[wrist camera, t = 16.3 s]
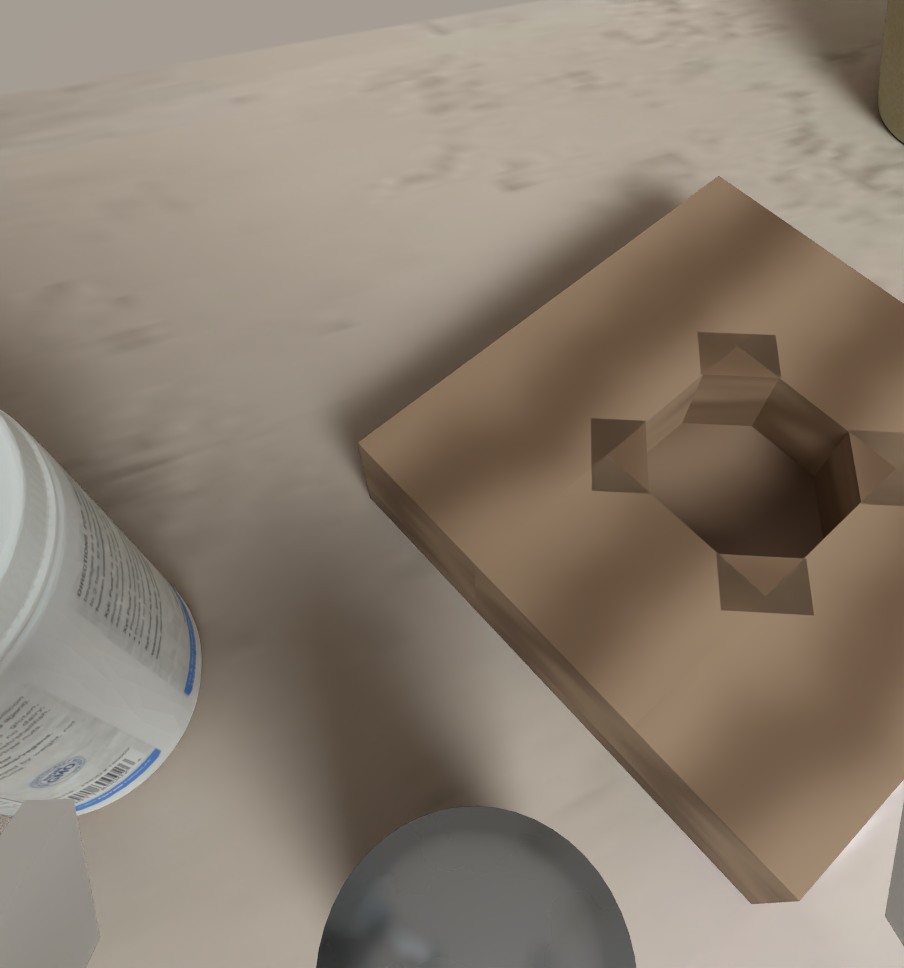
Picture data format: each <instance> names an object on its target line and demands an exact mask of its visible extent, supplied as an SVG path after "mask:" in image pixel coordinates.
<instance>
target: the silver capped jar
mask: <svg viewBox="0 0 904 968" xmlns="http://www.w3.org/2000/svg"><path fill="white" fill-rule="evenodd" d="M316 968H636V963H635V956H634V952H633V948H632V944H631V940H630V935H629V932H628V929H627V927H626V924H625V921H624V918H623V916H622V913H621V911H620V909H619V907H618V905H617V903H616V901H615V899H614V897H613V895H612V893H611V891H610V889H609V888H608V886H607V885H606V883H605V882H604V880H603V878H602V877H601V875H600V874H599V872H598V871H597V870H596V869H595V868H594V866H593V865H592V864H591V863H590V862H589V860H588V859H587V858H586V857H585V856H584V855H583V854H582V853H581V852H580V851H579V850H578V849H577V848H576V847H575V846H574V845H573V844H571V843H570V842H569V841H568V840H567V839H565V838H564V837H562V836H561V835H560V834H558V833H557V832H556V831H554V830H553V829H551V828H549V827H547V826H546V825H544V824H542V823H540V822H538V821H536V820H535V819H532V818H529V817H527V816H524V815H521V814H519V813H516V812H512V811H508V810H504V809H499V808H493V807H481V806H469V807H456V808H450V809H445V810H440V811H436V812H433V813H430V814H427V815H425V816H422V817H419V818H417V819H415V820H413V821H411V822H409V823H407V824H405V825H403V826H401V827H400V828H398V829H397V830H395V831H394V832H392V833H391V834H389V835H388V836H387V837H385V838H384V839H383V840H382V841H381V842H379V843H378V844H377V845H376V846H375V847H374V848H373V849H372V850H370V851H369V853H368V854H367V855H366V856H365V857H364V858H363V859H362V860H361V862H360V863H359V864H358V865H357V866H356V867H355V869H354V870H353V872H352V873H351V875H350V876H349V878H348V879H347V881H346V882H345V883H344V885H343V887H342V889H341V891H340V893H339V894H338V896H337V898H336V900H335V902H334V904H333V906H332V909H331V911H330V914H329V917H328V919H327V922H326V925H325V927H324V931H323V935H322V939H321V943H320V947H319V952H318V959H317V966H316Z"/></svg>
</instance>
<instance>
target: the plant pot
mask: <svg viewBox="0 0 904 968" xmlns="http://www.w3.org/2000/svg"><path fill="white" fill-rule="evenodd" d="M878 108H879V112H880V115H881V118H882V120H883V121H884V123H885V125H886V126H887V128H888V129H889V130H890V132H891V133H892V134H893V135H894V136H895V137H897V138H898V139H899V140H900V141H901V142H903V143H904V0H889V1H888V8H887V14H886V22H885V30H884V38H883V46H882V55H881V65H880V78H879V93H878Z"/></svg>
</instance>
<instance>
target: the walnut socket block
mask: <svg viewBox="0 0 904 968" xmlns="http://www.w3.org/2000/svg"><path fill="white" fill-rule="evenodd" d="M358 446H359V450H360V455H361V459H362V464H363V468H364V472H365V477H366V481H367V486H368V490H369V494H370V498H371V499H372V500H373V501H374V502H375V503H376V504H377V505H378V506H379V507H380V508H381V509H382V511H383V512H384V513H385V514H386V515H387V516H388V517H389V518H390V519H391V520H392V521H393V522H394V523H395V524H396V525H397V527H398V528H399V529H400V530H401V531H402V532H403V533H404V534H405V535H406V536H407V537H408V538H409V539H410V540H411V541H412V543H413V544H414V545H415V546H416V547H417V548H418V549H419V550H420V551H421V552H422V553H423V554H424V555H425V556H426V557H427V558H428V560H429V561H430V562H431V563H432V564H433V565H434V566H435V567H436V568H437V569H438V570H439V571H440V572H441V573H442V574H443V576H444V577H445V578H446V579H447V580H448V581H449V582H450V583H451V584H452V585H453V586H454V587H455V588H456V589H457V590H458V592H459V593H460V594H461V595H462V596H463V597H464V598H465V599H466V600H467V601H468V602H469V603H470V604H471V605H472V606H473V608H474V609H475V610H476V611H477V612H478V613H479V614H480V615H481V616H482V617H483V618H484V619H485V620H486V621H487V622H488V623H489V625H490V626H491V627H492V628H493V629H494V630H495V631H496V632H497V633H498V634H499V635H500V636H501V637H502V638H503V639H504V641H505V642H506V643H507V644H508V645H509V646H510V647H511V648H512V649H513V650H514V651H515V652H516V653H517V654H518V655H519V657H520V658H521V659H522V660H523V661H524V662H525V663H526V664H527V665H528V666H529V667H530V668H531V669H532V670H533V671H534V673H535V674H536V675H537V676H538V677H539V678H540V679H541V680H542V681H543V682H544V683H545V684H546V685H547V686H548V687H549V688H550V690H551V691H552V692H553V693H554V694H555V695H556V696H557V697H558V698H559V699H560V700H561V701H562V702H563V703H564V704H565V706H566V707H567V708H568V709H569V710H570V711H571V712H572V713H573V714H574V715H575V716H576V717H577V718H578V719H579V720H580V722H581V723H582V724H583V725H584V726H585V727H586V728H587V729H588V730H589V731H590V732H591V733H592V734H593V735H594V736H595V738H596V739H597V740H598V741H599V742H600V743H601V744H602V745H603V746H604V747H605V748H606V749H607V750H608V751H609V752H610V753H611V755H612V756H613V757H614V758H615V759H616V760H617V761H618V762H619V763H620V764H621V765H622V766H623V767H624V768H625V769H626V771H627V772H628V773H629V774H630V775H631V776H632V777H633V778H634V779H635V780H636V781H637V782H638V783H639V784H640V785H641V787H642V788H643V789H644V790H645V791H646V792H647V793H648V794H649V795H650V796H651V797H652V798H653V799H654V800H655V801H656V803H657V804H658V805H659V806H660V807H661V808H662V809H663V810H664V811H665V812H666V813H667V814H668V815H669V816H670V817H671V818H672V820H673V821H674V822H675V823H676V824H677V825H678V826H679V827H680V828H681V829H682V830H683V831H684V832H685V833H686V834H687V836H688V837H689V838H690V839H691V840H692V841H693V842H694V843H695V844H696V845H697V846H698V847H699V848H700V849H701V850H702V852H703V853H704V854H705V855H706V856H707V857H708V858H709V859H710V860H711V861H712V862H713V863H714V864H715V865H716V866H717V868H718V869H719V870H720V871H721V872H722V873H723V874H724V875H725V876H726V877H727V878H728V879H729V880H730V881H731V882H732V884H733V885H734V886H735V887H736V888H737V889H738V890H739V891H740V892H741V893H742V894H743V895H744V896H745V897H746V898H747V899H748V901H749V902H750V903H751V904H760V903H776V902H791V901H800V900H801V899H802V897H803V896H804V895H805V894H806V893H807V892H808V890H809V889H810V888H811V887H812V886H813V885H814V883H815V882H816V881H817V880H818V879H819V878H820V876H821V875H822V874H823V873H824V872H825V871H826V869H827V868H828V867H829V866H830V865H831V864H832V862H833V861H834V860H835V859H836V858H837V857H838V855H839V854H840V853H841V852H842V851H843V850H844V848H845V847H846V846H847V845H848V844H849V843H850V841H851V840H852V839H853V838H854V837H855V836H856V834H857V833H858V832H859V831H860V830H861V829H862V827H863V826H864V825H865V824H866V823H867V821H868V820H869V819H870V818H871V817H872V816H873V814H874V813H875V812H876V811H877V810H878V809H879V807H880V806H881V805H882V804H883V803H884V802H885V800H886V799H887V798H888V797H889V796H890V795H891V793H892V792H893V791H894V790H895V789H896V788H897V786H898V785H899V784H900V783H901V782H902V781H903V779H904V304H903V303H902V302H900V301H899V300H898V299H896V298H895V297H893V296H892V295H890V294H889V293H887V292H886V291H884V290H883V289H882V288H880V287H879V286H877V285H876V284H874V283H873V282H871V281H870V280H869V279H867V278H866V277H864V276H863V275H861V274H860V273H858V272H857V271H856V270H854V269H853V268H851V267H850V266H848V265H847V264H845V263H844V262H843V261H841V260H840V259H838V258H837V257H835V256H834V255H832V254H831V253H830V252H828V251H827V250H825V249H824V248H822V247H821V246H819V245H818V244H817V243H815V242H814V241H812V240H811V239H809V238H808V237H806V236H805V235H804V234H802V233H801V232H799V231H798V230H796V229H795V228H793V227H792V226H791V225H789V224H788V223H786V222H785V221H783V220H782V219H780V218H779V217H778V216H776V215H775V214H773V213H772V212H770V211H769V210H767V209H766V208H765V207H763V206H762V205H760V204H759V203H757V202H756V201H754V200H753V199H752V198H750V197H749V196H747V195H746V194H744V193H743V192H741V191H740V190H738V189H737V188H736V187H734V186H733V185H731V184H730V183H728V182H727V181H725V180H724V179H723V178H721V177H720V176H718V177H717V178H715V179H714V180H713V181H711V182H710V183H709V184H707V185H706V186H704V187H703V188H702V189H700V190H699V191H698V192H696V193H695V194H694V195H692V196H691V197H690V198H688V199H687V200H686V201H684V202H683V203H681V204H680V205H679V206H677V207H676V208H675V209H673V210H672V211H671V212H669V213H668V214H667V215H665V216H664V217H663V218H661V219H660V220H658V221H657V222H656V223H654V224H653V225H652V226H650V227H649V228H648V229H646V230H645V231H644V232H642V233H641V234H639V235H638V236H637V237H635V238H634V239H633V240H631V241H630V242H629V243H627V244H626V245H625V246H623V247H622V248H621V249H619V250H618V251H616V252H615V253H614V254H612V255H611V256H610V257H608V258H607V259H606V260H604V261H603V262H602V263H600V264H599V265H598V266H596V267H595V268H593V269H592V270H591V271H589V272H588V273H587V274H585V275H584V276H583V277H581V278H580V279H579V280H577V281H576V282H575V283H573V284H572V285H570V286H569V287H568V288H566V289H565V290H564V291H562V292H561V293H560V294H558V295H557V296H556V297H554V298H553V299H551V300H550V301H549V302H547V303H546V304H545V305H543V306H542V307H541V308H539V309H538V310H537V311H535V312H534V313H533V314H531V315H530V316H528V317H527V318H526V319H524V320H523V321H522V322H520V323H519V324H518V325H516V326H515V327H514V328H512V329H511V330H510V331H508V332H507V333H505V334H504V335H503V336H501V337H500V338H499V339H497V340H496V341H495V342H493V343H492V344H491V345H489V346H488V347H487V348H485V349H484V350H482V351H481V352H480V353H478V354H477V355H476V356H474V357H473V358H472V359H470V360H469V361H468V362H466V363H465V364H463V365H462V366H461V367H459V368H458V369H457V370H455V371H454V372H453V373H451V374H450V375H449V376H447V377H446V378H445V379H443V380H442V381H440V382H439V383H438V384H436V385H435V386H434V387H432V388H431V389H430V390H428V391H427V392H426V393H424V394H423V395H422V396H420V397H419V398H417V399H416V400H415V401H413V402H412V403H411V404H409V405H408V406H407V407H405V408H404V409H403V410H401V411H400V412H399V413H397V414H396V415H394V416H393V417H392V418H390V419H389V420H388V421H386V422H385V423H384V424H382V425H381V426H380V427H378V428H377V429H376V430H374V431H373V432H371V433H370V434H369V435H367V436H366V437H365V438H363V439H362V440H361V441H359V442H358Z"/></svg>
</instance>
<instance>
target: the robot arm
mask: <svg viewBox="0 0 904 968" xmlns="http://www.w3.org/2000/svg"><path fill="white" fill-rule="evenodd" d="M885 917H886V918H887V920H888V922H889V923H890V925H891V926H892V928H893V930H894V931H895V933H896V935H897V936H898V938H899V939H900V941H901V943H902V944H903V946H904V804H903V810H902V816H901V822H900V828H899V834H898V840H897V846H896V852H895V858H894V864H893V870H892V876H891V882H890V888H889V894H888V900H887V906H886V912H885ZM99 939H100V933H99V928H98V922H97V917H96V912H95V907H94V902H93V897H92V892H91V886H90V881H89V876H88V871H87V866H86V861H85V855H84V850H83V845H82V840H81V835H80V830H79V824H78V819H77V814H76V809H75V804H74V799H53V800H25V801H24V802H23V804H22V805H21V806H20V808H19V809H18V811H17V812H16V813H15V815H14V816H13V818H12V819H11V820H10V822H9V823H8V825H7V826H6V827H5V829H4V830H3V832H2V833H1V835H0V968H86V966H87V964H88V962H89V960H90V958H91V956H92V953H93V951H94V949H95V947H96V945H97V943H98V941H99Z"/></svg>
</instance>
